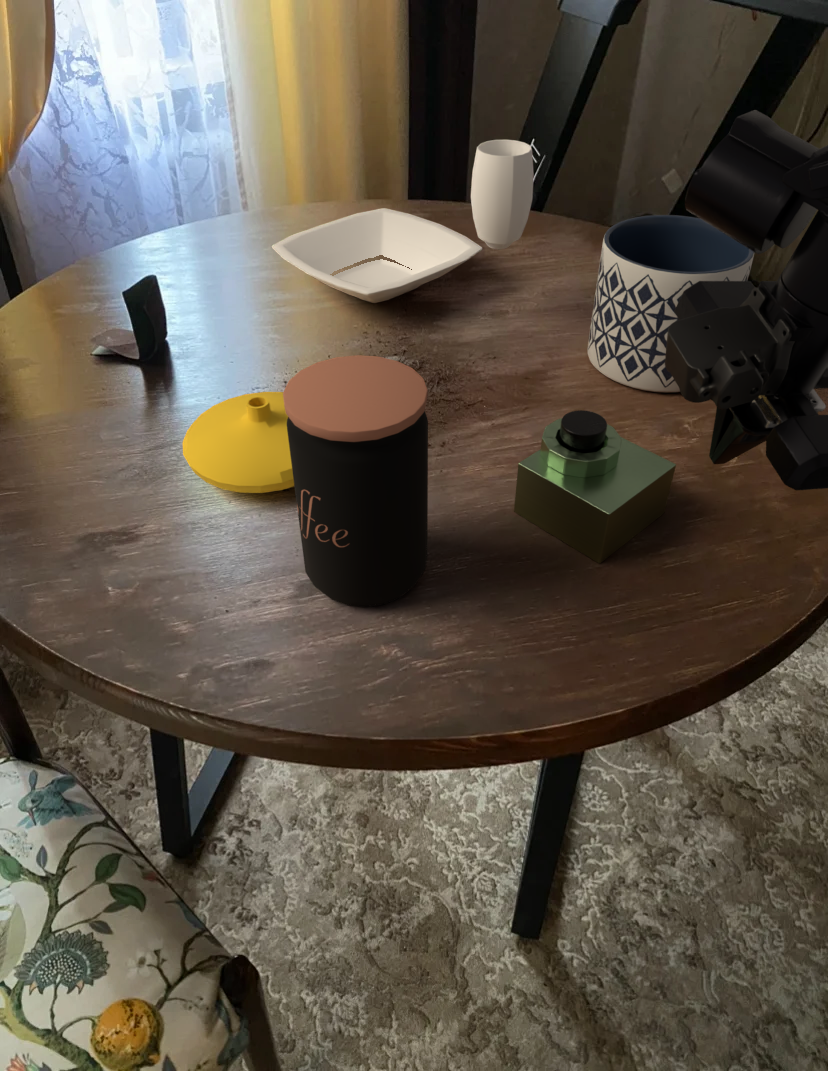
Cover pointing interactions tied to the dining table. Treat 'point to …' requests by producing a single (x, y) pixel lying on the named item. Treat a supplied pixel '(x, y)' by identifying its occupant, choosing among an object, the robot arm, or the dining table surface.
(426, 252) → the bowl
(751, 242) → the robot arm
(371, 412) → the coffee jar
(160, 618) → the dining table surface
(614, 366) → the planter
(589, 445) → the button
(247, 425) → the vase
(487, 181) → the cup
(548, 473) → the push button box
